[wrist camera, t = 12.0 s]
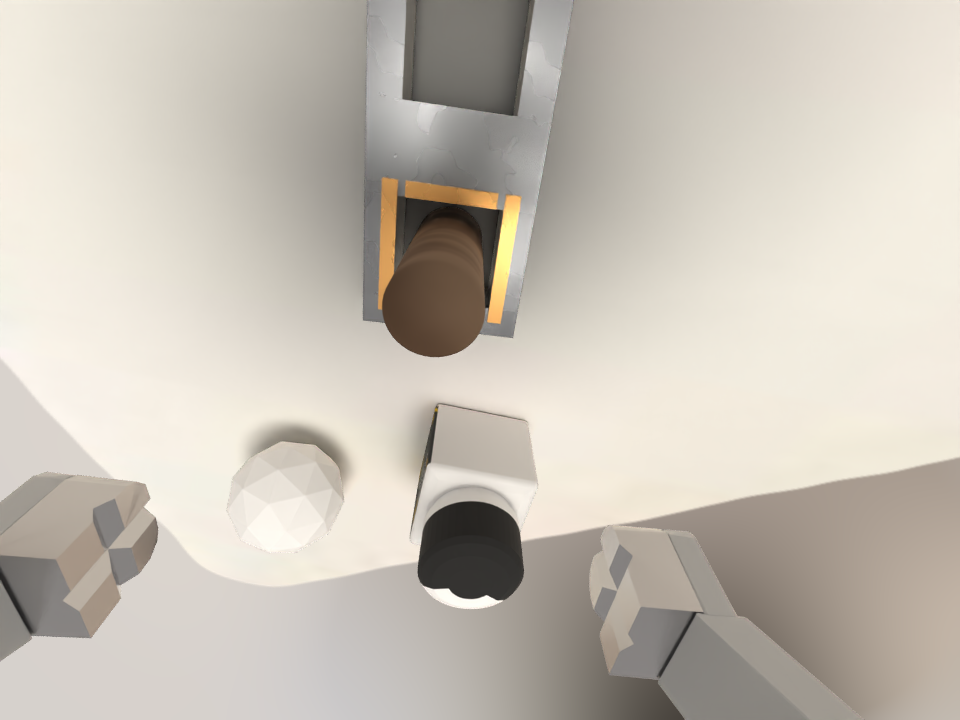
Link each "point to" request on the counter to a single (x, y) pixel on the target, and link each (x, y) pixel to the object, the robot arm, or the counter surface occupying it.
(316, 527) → the ball
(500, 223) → the rectangular metal frame
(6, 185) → the counter surface
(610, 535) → the robot arm
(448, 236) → the walnut peg
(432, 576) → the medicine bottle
